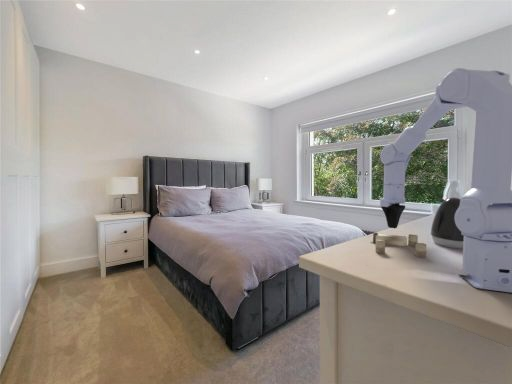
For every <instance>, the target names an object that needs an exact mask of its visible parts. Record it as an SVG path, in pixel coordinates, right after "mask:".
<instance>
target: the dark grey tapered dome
mask: <svg viewBox="0 0 512 384" xmlns="http://www.w3.org/2000/svg"><path fill="white" fill-rule="evenodd" d="M439 201H440V203H441V204H440V205H439V207H438V208H437V210H436V213H435V215H434V218H433V220H432V224H431V228H430V236H431V237H432V241H433V242H434V243H435V244H436V245H438V246H442V247H446V248H452V249H462V250H463V242H464V235H461V231H460V230H459V229H458V227H457V226H456V224H455V219H454V217H455V213H456V211H457V209H458V208H459V205H460V198H459V197H449V198H446V199H444V198H441V199H439Z"/></svg>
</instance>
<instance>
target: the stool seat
mask: <svg viewBox="0 0 512 384" xmlns="http://www.w3.org/2000/svg"><path fill="white" fill-rule="evenodd" d="M418 237H419V236H418V235H417V234H408V236H407V247H410V248H415V251H414V252H415V253H414V255H415V257H417V258H422V259H425V258H427V244H426V243H423V242H419V241H418V240H419V238H418ZM370 243H371V244H373V245H375V253H376V254H380V255H384V254H386V244H385V241H384V240H376V243H373V241H370Z"/></svg>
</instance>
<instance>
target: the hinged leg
mask: <svg viewBox="0 0 512 384" xmlns="http://www.w3.org/2000/svg"><path fill="white" fill-rule="evenodd" d="M372 237H373V238H372V242H373V243H376V240H384V241H385V246H386V245H388V246H398V247H408V236H406V235H396V234H395V235H394V234H383V233H378V232H373V233H372ZM373 243H372V244H373Z"/></svg>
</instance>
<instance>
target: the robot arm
mask: <svg viewBox="0 0 512 384" xmlns="http://www.w3.org/2000/svg"><path fill="white" fill-rule="evenodd" d="M510 75H511V74H509V73H506V72H503V71H498V70H482V69H481V70H480V69H479V70H477V69H466V68H461V67H460V68H458V67H457V68H455V69H452V70H451V71H448V73H447V74H446V75H444V77H443V78H442V79H441V82H440V83H439V84H438V85H437V86H436V88H435V93H434V94H435V95H434V98H433V99H432V101H431V102H430V103H429V104H428V105H427V108H425V110H424V111H423V113H422V114H421V115H420V116H419V118H418V119H417V120H416V122H415V123H414V125H410V126H406V127H405V128H404V129H402V132H401V133H400V134H399V136H397V138H396V139H395V140H394V141H393V142H392V143H389V144H388V145H385V146H383V148H382V149H381V150H380V155H379V158H380V159H379V161H380V162H381V163H382V164H383V193H382V197H380V198H379V197H378V199H379V204H380V205H379V206H380V207H381V210H382V211H383V213H384V215H385V219H386V224H387V228H390V229H397V228H398V226H399V222H400V220H401V216H402V213H403V212H404V211H405V208H406V205H404V204H406V197H405V192H406V191H405V188H406V187H405V185H406V184H405V183H406V170H407V169H408V164H409V162H410V160H411V158H412V153H413V152H414V151H415V150H416V149H417V148H418V147H419V146H420V145H421V144H422V143H423V142H424V141H425V139H426V138H427V137H426V135H427V134H426V133H427V132H428V131H429V130H430V129H431V128H432V127H433V126H434V125H435V124H436V123H438V122H439V121H440V120H441V119H442V118H443V117H444V116H445V115H446V114H448V112H450V111H452V110H456V109H461V108H465V107H467V108H469V109H471V110H473V111H475V126H474V140H473V141H474V142H473V154H472V155H473V156H472V157H473V158H472V169H471V170H472V171H471V181H470V182H471V185H470V189H468V190H467V192H464V193H465V194H463V195H462V196H461V197H460V198H459V199H460V205H459V208H458V209H457V211H456V213H455V217H454V219H455V224H456V226H457V227H458V229H459V230H460V231H461V235H464V242H463V249H462V262H461V263H462V266H461V270H462V272H463V273H465V274H458V275H459V276H460V277H461V278H462V279H464V280H465V281H466V282H467V283H469V284H470V285H472V286H473V288H475V289H481V290H489V291H498V292H505V293H511V294H512V189H511V187H512V186H511V185H512V184H511V183H512V83H510V77H511V76H510ZM401 204H402V205H401Z"/></svg>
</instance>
